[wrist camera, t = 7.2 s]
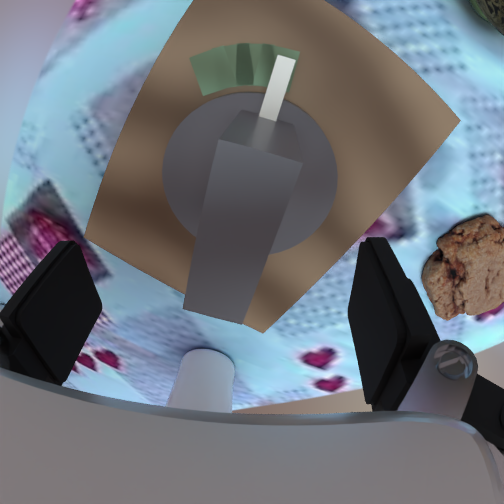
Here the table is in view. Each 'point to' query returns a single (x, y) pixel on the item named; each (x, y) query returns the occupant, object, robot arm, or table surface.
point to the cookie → (467, 269)
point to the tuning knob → (246, 189)
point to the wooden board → (298, 92)
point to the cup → (490, 12)
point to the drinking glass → (203, 382)
